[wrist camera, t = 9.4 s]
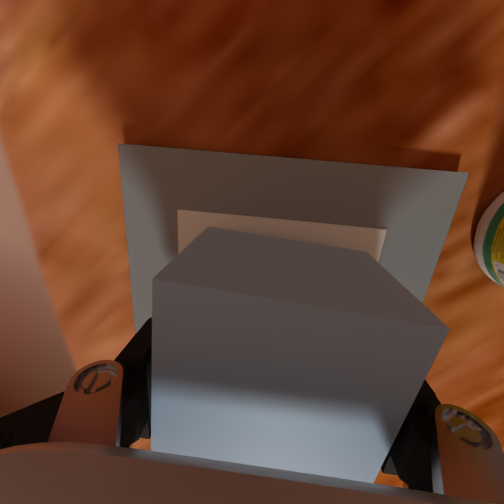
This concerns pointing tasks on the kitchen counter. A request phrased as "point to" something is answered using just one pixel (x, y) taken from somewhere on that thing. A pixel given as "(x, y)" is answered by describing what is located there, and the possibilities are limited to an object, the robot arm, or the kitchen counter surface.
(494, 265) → the supplement bottle
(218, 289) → the light blue block
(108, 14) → the kitchen counter surface
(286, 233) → the base plate
